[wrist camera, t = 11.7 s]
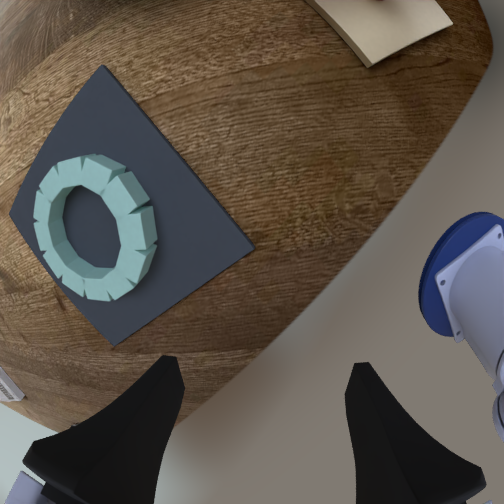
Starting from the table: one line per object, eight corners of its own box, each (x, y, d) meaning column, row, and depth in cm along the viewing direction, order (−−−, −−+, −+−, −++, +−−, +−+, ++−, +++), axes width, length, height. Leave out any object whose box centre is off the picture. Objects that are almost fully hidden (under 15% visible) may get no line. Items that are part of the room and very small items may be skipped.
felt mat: (255, 246, 19) (254, 249, 19) (116, 343, 25) (114, 346, 25) (104, 65, 15) (101, 64, 14) (11, 212, 20) (8, 214, 20)
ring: (185, 249, 20) (176, 261, 18) (98, 306, 23) (87, 318, 21) (102, 124, 16) (86, 125, 14) (33, 209, 19) (19, 216, 18)
